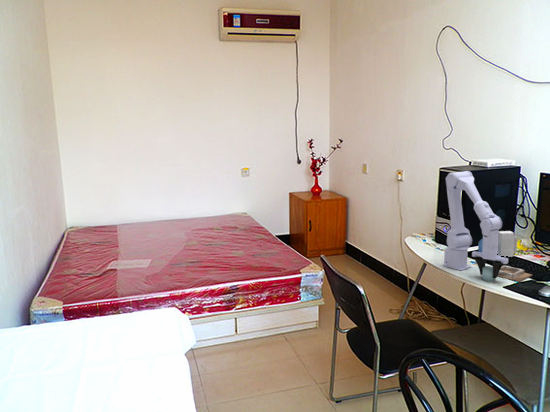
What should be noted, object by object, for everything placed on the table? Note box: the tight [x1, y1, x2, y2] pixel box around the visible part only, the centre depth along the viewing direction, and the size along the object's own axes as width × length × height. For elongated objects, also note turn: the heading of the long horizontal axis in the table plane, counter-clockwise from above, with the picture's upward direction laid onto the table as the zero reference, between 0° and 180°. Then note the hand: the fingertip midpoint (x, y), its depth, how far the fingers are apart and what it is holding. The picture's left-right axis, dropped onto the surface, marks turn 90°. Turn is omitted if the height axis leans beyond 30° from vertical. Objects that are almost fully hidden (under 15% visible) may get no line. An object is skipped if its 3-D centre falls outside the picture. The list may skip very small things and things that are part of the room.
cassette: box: [513, 236, 518, 253], centre depth 222 cm, size 12×2×8 cm, turn 28°
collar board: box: [497, 264, 533, 283], centre depth 188 cm, size 14×11×2 cm
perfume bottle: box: [477, 238, 483, 252], centre depth 212 cm, size 6×6×12 cm
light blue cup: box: [481, 265, 496, 282], centre depth 184 cm, size 5×5×5 cm
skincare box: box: [497, 230, 515, 258], centre depth 212 cm, size 6×4×12 cm
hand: (488, 276), depth 184 cm, fingers closed on light blue cup, 5 cm apart
